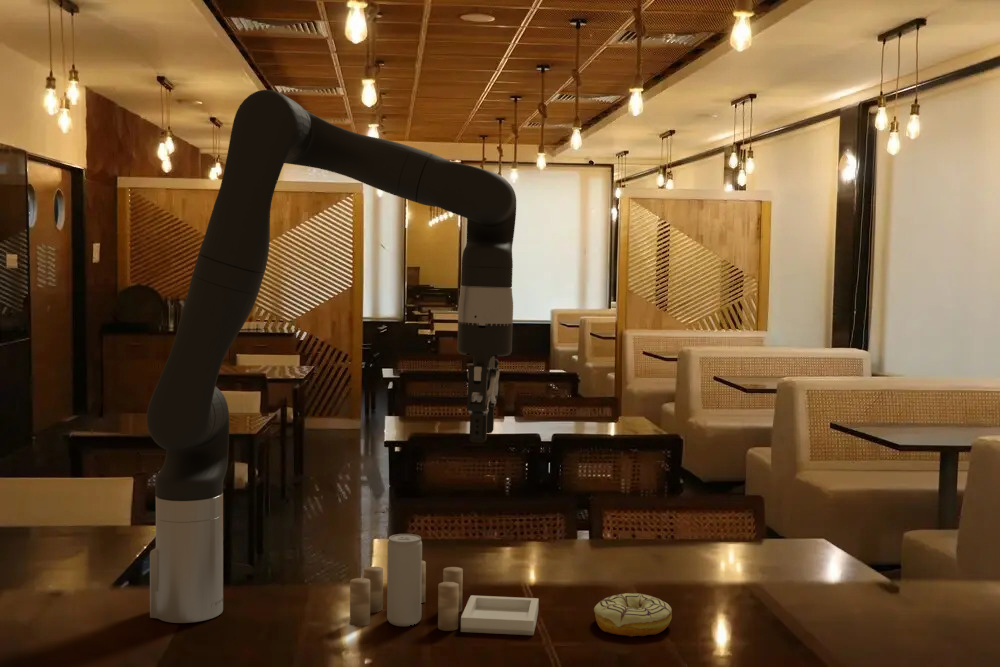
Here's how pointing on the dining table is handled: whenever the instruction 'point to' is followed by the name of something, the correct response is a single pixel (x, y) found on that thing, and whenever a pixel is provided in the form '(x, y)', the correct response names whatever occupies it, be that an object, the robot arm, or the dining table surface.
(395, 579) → the beverage can
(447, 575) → the posts
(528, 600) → the parts tray
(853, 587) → the dining table surface
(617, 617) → the decorated donut
